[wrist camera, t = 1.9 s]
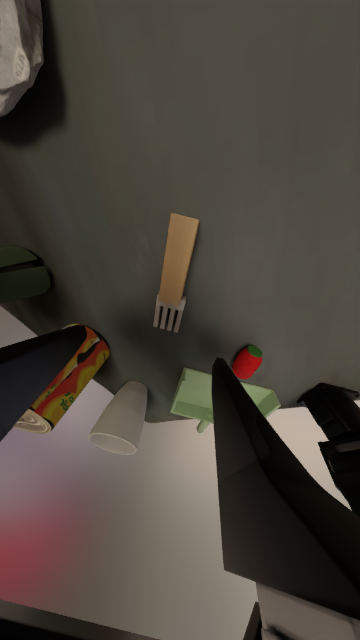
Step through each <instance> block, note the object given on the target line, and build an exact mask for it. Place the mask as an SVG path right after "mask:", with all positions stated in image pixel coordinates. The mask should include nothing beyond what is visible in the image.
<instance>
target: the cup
mask: <svg viewBox="0 0 360 640" xmlns="http://www.w3.org/2000/svg"><path fill="white" fill-rule="evenodd" d="M146 405H147V387H146V386H145V385H144V384H142V383H140V382H138V381H128V382H127V383H126V384H125V385H124V386H123V387H122V388H121V389H120V390H119V391H118V392H117V394H116V395H115V396H114V398H113V399H112V400H111V402H110V403H109V404H108V406H107V407H106V408H105V410H104V411H103V413H102V415H101V416H100V418H99V419H98V421H97V423H96V424H95V426H94V427H93V429H92V431H91V432H90V434H89V435H88V439H89V441H90V442H91V443H92V444H94V445H96V446H97V447H99V448H101V449H104V450H106V451H109V452H113V453H117V454H124V455H129V454H134V453H135V452H136V450H137V446H138V443H139V439H140V435H141V431H142V427H143V423H144V418H145V412H146Z"/></svg>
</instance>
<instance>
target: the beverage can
mask: <svg viewBox="0 0 360 640" xmlns="http://www.w3.org/2000/svg"><path fill="white" fill-rule="evenodd" d="M74 325H77V324H70V325H67V326H66V327H64V328H67V327H71V326H74ZM79 325H81V324H79ZM84 326H85V325H84ZM85 327H86V332H87V338H86V340H85V341H84V343H83V344H82V345H81V347H80V348H79V350H78V351H77V353H76V354H75V355H74V357H73V358H72V359H71V360H70V362H69V363H68V364H67V365H66V366H65V367H64V368H63V370H62V371H61V372H60V373H59V374H58V375H57V377H56V378H55V379H54V380H53V381H52V382H51V384H50V385H49V386H48V387H47V388H46V389H45V390H44V392H43V393H42V394H41V395H40V396H39V397H38V399H37V400H36V401H35V402H34V403H33V404H32V406H31V407H30V408H29V409H28V410H27V411H26V412H25V414H24V415H23V416H22V417H21V418H20V419H19V421H18V422H17V423H16V424H15V425H14V426H13V427H15V428H18V429H21V430H25V431H29V432H33V433H42V434H45V433H49V432H50V431H51V430H52V429H53V428H54V427H55V425H56V424H57V423H58V421H59V420H60V419H61V418H62V416H63V415H64V414H65V412H66V411H67V410H68V408H69V407H70V406H71V404H72V403H73V402H74V401H75V399H76V398H77V397H78V395H79V394H80V393H81V392H82V390H83V389H84V388H85V386H86V385H87V384H88V382H89V381H90V380H91V379H92V377H93V376H94V375H95V373H96V372H97V371H98V369H99V368H100V367H101V366H102V364H103V363H104V362H105V360H106V359H107V358H108V356H109V354H110V348H109V345H108V343H107V342H106V340H105V339H104V338H103V337H102V336H101V335H100V334H99V333H98V332H96V331H95V330H93V329H92V328H90V327H87V326H85ZM64 328H63V329H64Z"/></svg>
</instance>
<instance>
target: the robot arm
mask: <svg viewBox="0 0 360 640" xmlns="http://www.w3.org/2000/svg"><path fill="white" fill-rule="evenodd" d="M86 338H87V332H86V327H85V326H84V325H79V324H77V325H74V326H71V327H67V328H64V329H61V330H58V331H54V332H51V333H48V334H44V335H41V336H38V337H35V338H31V339H28V340H25V341H22V342H18V343H15V344H12V345H8V346H5V347H2V348H0V442H1V440H2V439H3V438H4V437H5V436H6V435H7V433H8V432H9V431H10V430H11V429H12V428H13V426H14V425H15V424H16V423H17V422H18V421H19V419H20V418H21V417H22V416H23V415H24V414H25V412H26V411H27V410H28V409H29V408H30V407H31V406H32V404H33V403H34V402H35V401H36V400H37V399H38V397H39V396H40V395H41V394H42V393H43V392H44V390H45V389H46V388H47V387H48V386H49V385H50V384H51V382H52V381H53V380H54V379H55V378H56V377H57V375H58V374H59V373H60V372H61V371H62V370H63V368H64V367H65V366H66V365H67V364H68V363H69V362H70V360H71V359H72V358H73V357H74V355H75V354H76V353H77V351H78V350H79V348H80V347H81V345H82V344H83V343H84V341H85V340H86ZM211 392H212V407H213V421H214V435H215V449H216V463H217V478H218V493H219V506H220V521H221V536H222V550H223V563H224V570H225V571H228V572H231V573H234V574H236V575H239V576H242V577H244V578H247V579H250V580H252V581H255V582H256V587H257V594H258V601H259V602H255V605H254V608H253V611H252V614H251V617H250V620H249V624H248V626H247V629H246V632H245V635H244V639H243V640H360V408H359V407H358V406H357V404H356V403H355V402H354V401H353V400H355V399H357V398H358V397H360V394H359V393H358V392H355V391H351V390H347V389H343V388H339V387H336V386H332V385H328V384H320V385H318V386H317V387H316V388H315V389H313V390H312V391H311V392H309V393H308V394H307V395H305V396H304V397H303V398H302V399H300V400H299V401H298V402H297V403H298V405H299V406H303V407H307V408H308V409H309V411H310V413H311V414H312V416H313V418H314V419H315V421H316V423H317V424H318V425H319V426H320V427H321V428H322V430H323V432H324V434H325V435H326V437H327V438H328V440H330V441H326V442H318V445H319V447H320V451H321V453H322V456H323V458H324V460H325V463H326V465H327V467H328V469H329V472H330V474H331V477H332V479H333V481H334V484H335V486H336V488H337V489H338V490H339V491H340V492H341V493H342V494H343V496H344V497H345V499H346V500H347V501H348V503H349V505H350V507H351V510H352V511H351V510H350V509H348V508H347V507H346V506H344V505H343V504H342V503H341V502H339V501H338V500H337V499H335V498H334V497H333V496H332V495H330V494H329V493H328V492H327V491H325V490H324V489H323V488H322V487H321V486H320V485H319V484H318V483H317V482H316V481H315V480H314V479H313V477H312V476H311V475H310V474H309V473H308V472H307V470H306V469H305V468H304V467H303V465H302V464H301V463H300V462H299V460H298V459H297V458H296V457H295V455H294V454H293V453H292V452H291V450H290V449H289V448H288V447H287V446H286V444H285V443H284V442H283V441H282V439H281V438H280V437H279V436H278V434H277V433H276V432H275V430H274V429H273V428H272V426H271V425H270V424H269V422H268V421H267V420H266V418H265V417H264V415H263V414H262V413H261V411H260V410H259V408H258V407H257V406H256V404H255V403H254V401H253V400H252V398H251V397H250V396H249V394H248V393H247V391H246V390H245V389H244V387H243V386H242V384H241V383H240V381H239V380H238V379H237V377H236V376H235V374H234V373H233V371H232V370H231V369H230V367H229V366H228V364H227V363H226V362H225V360H224V359H223V358H219V357H217V358H216V360H215V362H214V364H213V367H212V389H211ZM0 640H159V639H154V638H151V637H147V636H143V635H138V634H135V633H131V632H127V631H123V630H119V629H115V628H111V627H107V626H103V625H99V624H95V623H91V622H87V621H83V620H79V619H75V618H71V617H67V616H63V615H59V614H56V613H52V612H47V611H43V610H39V609H36V608H32V607H28V606H24V605H20V604H16V603H12V602H8V601H4V600H0Z"/></svg>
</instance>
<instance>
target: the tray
mask: <svg viewBox="0 0 360 640" xmlns="http://www.w3.org/2000/svg"><path fill="white" fill-rule="evenodd" d="M240 383H241V384H242V386H243V387H244V389H245V390H246V391H247V393H248V394H249V396H250V397H251V398H252V400H253V401H254V403H255V404H256V406H257V407H258V408H259V410H260V411H261V413H262V414H263V415H264V417H265V418H267V417H268V416H269V415H270V414H271V413H273V412H274V411H275V410H276V409H278V408H279V407H280V406H281V405H280V403H279V401H278V398H277V396H276V394H275V392H274V390H272V389H268V388H264V387H260V386H256V385H252V384H248V383H244V382H240ZM211 389H212V374H209V373H205V372H201V371H197V370H193V369H189V368H185V367H184V368H183V371H182V374H181V377H180V380H179V383H178V385H177V388H176V391H175V394H174V397H173V400H172V406H171V411H170V413H174V414H178V415H182V416H185V417H189V418H193V419H197V420H201V422H200V423H199V425H198V427H197V432H198V433H202V432H203V431H204V429H205V428H206V427H207V425H208V424H209V423H213V424H214V421H213V407H212V392H211ZM183 402H184V403H183ZM187 403H188V404H187ZM191 404H192V405H191ZM195 405H196V406H195ZM199 406H200V407H199ZM203 407H204V408H203ZM207 408H208V409H207ZM211 409H212V410H211Z"/></svg>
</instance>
